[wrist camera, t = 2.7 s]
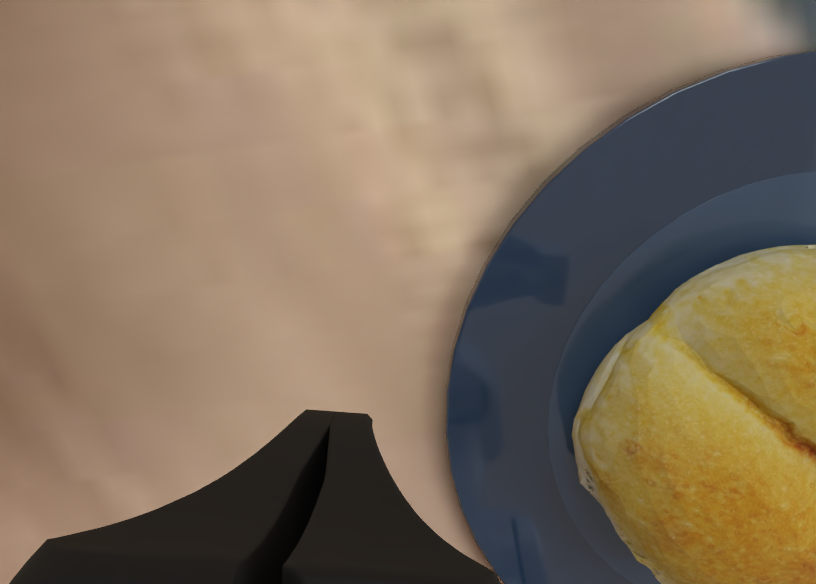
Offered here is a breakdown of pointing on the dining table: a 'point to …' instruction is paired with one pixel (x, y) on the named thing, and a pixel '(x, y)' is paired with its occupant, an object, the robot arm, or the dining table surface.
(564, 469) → the plate
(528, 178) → the dining table surface
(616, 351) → the bread roll
